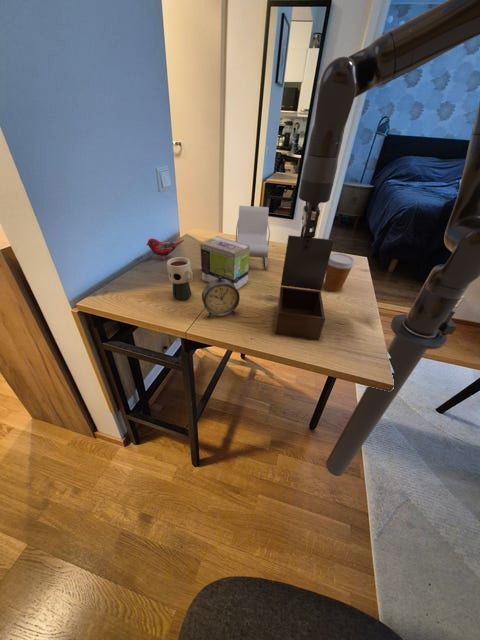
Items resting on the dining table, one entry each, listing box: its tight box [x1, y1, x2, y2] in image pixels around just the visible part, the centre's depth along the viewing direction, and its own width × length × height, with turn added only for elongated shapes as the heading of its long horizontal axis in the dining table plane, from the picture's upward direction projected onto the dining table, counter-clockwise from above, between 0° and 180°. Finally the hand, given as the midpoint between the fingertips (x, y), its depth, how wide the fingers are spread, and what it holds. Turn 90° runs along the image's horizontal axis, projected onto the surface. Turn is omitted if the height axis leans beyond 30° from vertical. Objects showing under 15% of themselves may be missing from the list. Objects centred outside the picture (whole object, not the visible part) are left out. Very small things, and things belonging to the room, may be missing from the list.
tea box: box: [199, 235, 250, 290], centre depth 95 cm, size 15×10×15 cm
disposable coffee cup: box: [323, 252, 355, 293], centre depth 95 cm, size 10×10×12 cm
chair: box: [235, 205, 271, 270], centre depth 110 cm, size 13×25×20 cm, turn 178°
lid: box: [280, 234, 335, 291], centre depth 77 cm, size 16×13×1 cm
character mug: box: [166, 256, 194, 301], centre depth 85 cm, size 11×7×13 cm, turn 57°
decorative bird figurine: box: [146, 237, 185, 261], centre depth 110 cm, size 3×18×10 cm, turn 132°
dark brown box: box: [274, 286, 326, 341], centre depth 78 cm, size 15×13×8 cm
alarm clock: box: [201, 267, 241, 319], centre depth 77 cm, size 11×5×16 cm, turn 106°
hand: (304, 244), depth 71 cm, fingers open, 8 cm apart
